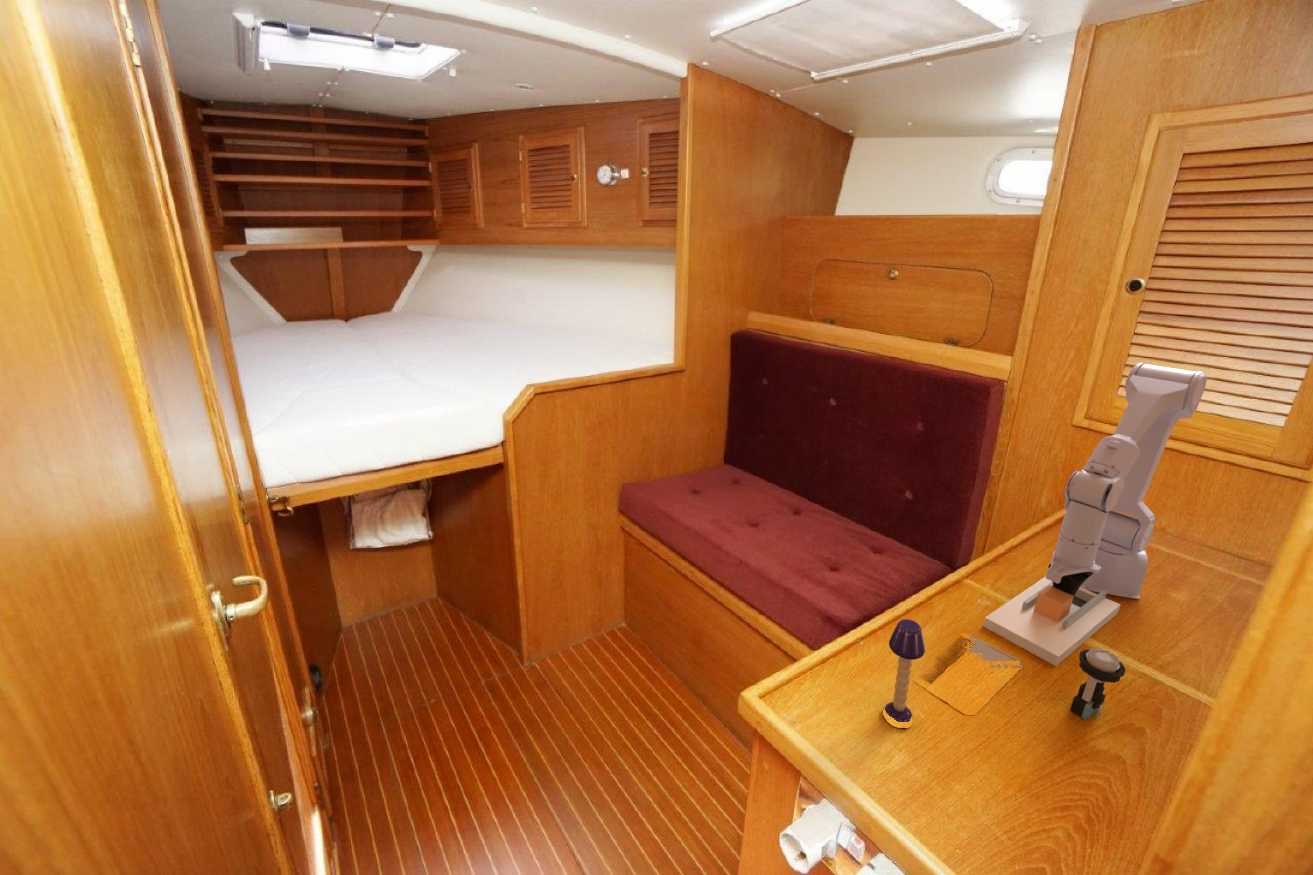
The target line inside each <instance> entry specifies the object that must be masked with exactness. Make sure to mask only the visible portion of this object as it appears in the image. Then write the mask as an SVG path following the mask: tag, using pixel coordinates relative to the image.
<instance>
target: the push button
mask: <svg viewBox="0 0 1313 875" xmlns="http://www.w3.org/2000/svg"><path fill="white" fill-rule="evenodd" d="M1078 659H1079V661H1080V662H1079V664H1078V665H1079V667H1080V669H1081V670H1082V672H1084V673H1085V674H1087V676H1088V677H1087V680H1086V681H1085V682H1084V683H1082V684H1080V686H1079V689H1078V694H1076V695H1075V696H1074V697H1073V699H1072V701H1071V705H1070V709H1069V710H1070V712H1072V713H1074V714H1075V715H1076V716H1078V717H1080V718H1081V719H1083V720H1085V721H1086V720H1088V719H1089V718H1090V717H1092V715H1093V714H1095V713H1096V715H1095V717H1096V718H1099V716H1100V715H1101V713H1102V709H1103V706H1102V705H1103V704H1104V701H1105V699H1106V697H1107V696H1106V694H1105V692H1104V691H1105V686H1104V685H1105V683H1112V684H1115V683H1118V682H1119V681H1120V679H1121V678H1122V677H1124V676H1125V673H1126V667H1125V666H1124V664H1123V663H1122V662H1121V661H1120V660H1119V658H1118V657H1117V656H1116V655H1115V654H1113V653H1112V652H1111V651H1108V650H1105V649H1103V648H1097V647H1094V648H1090V649H1083V650H1082V651H1080V652H1079V655H1078Z"/></svg>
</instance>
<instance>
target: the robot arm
mask: <svg viewBox="0 0 1313 875" xmlns="http://www.w3.org/2000/svg"><path fill="white" fill-rule="evenodd" d="M1207 380H1208V379H1207V376H1206V374H1205V372H1204V371H1194V370H1186V369H1180V368H1174V367H1166V366H1160V365H1153V364H1148V363H1147V364H1146V362H1145V363H1144V362H1139V363H1137V364H1135V365H1134V366H1133V367H1132V368H1131V369H1130V371H1129V373H1128V375H1127V378H1126V380H1125V384H1124V392H1125V401H1127V402H1128V403H1127V406H1126V407H1125V410H1124V412H1123V414H1122V417H1121V418H1120V420H1119V423H1118V424H1117V426H1116V428H1115V430H1114V433H1113V435H1108V436H1105V437H1102V438H1101V439H1100V441H1099V442H1098V444H1097V446H1096V447H1095V449H1094V450H1093V451H1092V453H1091V455H1090V456H1089V458H1088V459H1087V461H1086V463H1085V464H1084V466H1083V468H1082V469H1081V470H1080V471H1079V470H1076V471H1075V470H1074V472H1073V473H1072V474H1071V475H1070V477H1069V479H1068V480H1067V482H1066V486H1065V489H1064V504H1063V509H1064V510H1065V513H1064V516H1063V520H1062V524H1061V528H1060V531H1059V535H1058V539H1057V543H1056V547H1055V550H1054V551H1053V552H1052V557H1051V561H1050V563H1049V564H1048V566H1047V570H1046V574H1045V576H1046V579H1048V580H1051V581H1052V582H1053V587H1055V588H1057V589H1059V590H1061V591H1063V592H1066V593H1068V594H1070V595H1072V596H1074V595H1075V594H1076V592H1077V591H1078V589H1079V588H1080V587H1081V588H1084V589H1086V590H1088V591H1090V592H1093V593H1098V594H1099V593H1100V592H1101V591H1103V590H1106V591H1107V594H1106V595H1110V596H1111V595H1112V596H1117V597H1124V598H1128V599H1135V600H1139V599H1140V598H1141V597H1140V591H1141V590H1142V586H1143V582H1144V579H1145V577H1146V574H1147V572H1148V565H1149V558H1148V554H1147V552H1146V550H1145V549H1146V548H1147V547H1148V545H1149V543H1150V541H1151V538H1152V537H1153V536H1152V535H1153V532H1154V526H1155V523H1156V521H1157V520H1156V516H1155V515H1154V512H1152V511H1151V509H1150V508H1149V507H1148V506H1147V505H1146V504H1145V502H1144V499H1145V497H1146V494H1147V492H1148V490H1149V488H1150V485H1151V482H1152V480H1153V477H1154V474H1155V473H1156V471H1157V468H1158V465H1159V463H1160V460H1161V458H1162V456H1163V453H1164V450H1165V448H1166V446H1167V442H1168V441H1169V438H1170V436H1171V433H1172V430H1174V428H1175V426H1176V424H1177V423H1178V422H1179V420H1183V419H1190V418H1192V417H1193V415H1194V414H1195V413H1196V411H1197V410H1198V406H1199V404H1200V402H1201V400H1202V396H1203V394H1204V392H1205V390H1206V386H1207Z"/></svg>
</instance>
